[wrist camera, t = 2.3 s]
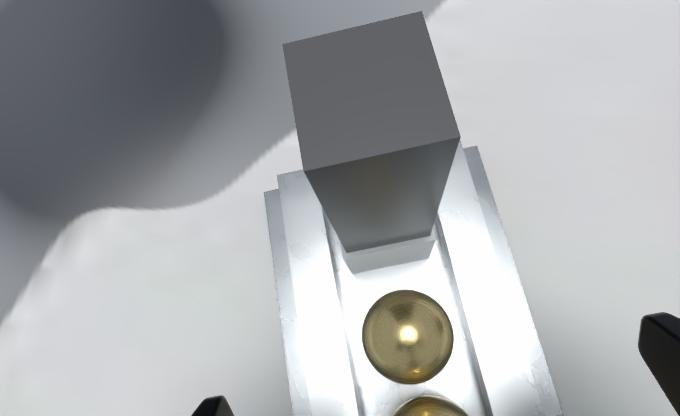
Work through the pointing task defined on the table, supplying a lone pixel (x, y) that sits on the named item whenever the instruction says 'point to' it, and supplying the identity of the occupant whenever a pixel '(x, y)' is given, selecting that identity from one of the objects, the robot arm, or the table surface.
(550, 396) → the slot rail
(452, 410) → the gold ball
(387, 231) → the tall gray pillar
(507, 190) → the table surface
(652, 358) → the robot arm
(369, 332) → the brass sphere
